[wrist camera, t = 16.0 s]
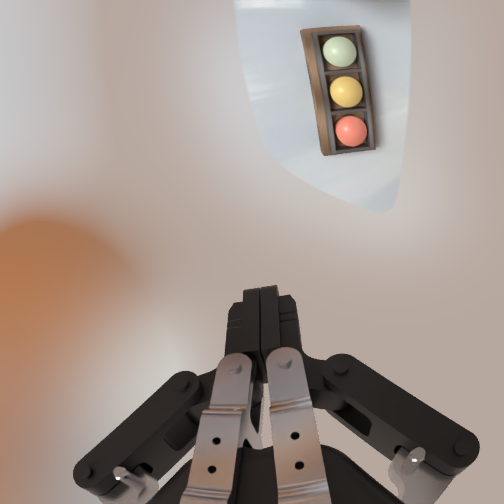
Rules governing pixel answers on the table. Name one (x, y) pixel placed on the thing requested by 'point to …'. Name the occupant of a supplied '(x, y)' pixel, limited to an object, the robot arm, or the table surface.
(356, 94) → the button ochre
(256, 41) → the table surface
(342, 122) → the button coral
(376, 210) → the table surface
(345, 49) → the button sage
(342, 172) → the table surface
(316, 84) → the toy traffic light
